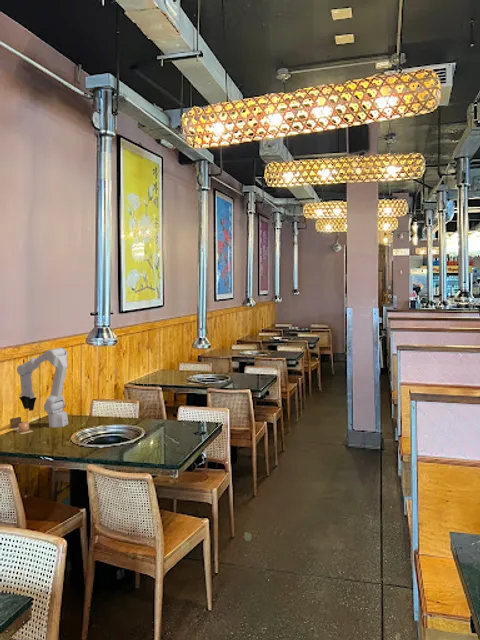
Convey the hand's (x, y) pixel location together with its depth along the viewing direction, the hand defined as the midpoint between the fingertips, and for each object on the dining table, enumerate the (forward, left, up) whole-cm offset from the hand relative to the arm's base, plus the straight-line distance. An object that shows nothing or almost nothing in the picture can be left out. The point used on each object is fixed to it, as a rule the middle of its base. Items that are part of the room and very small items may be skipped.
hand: (28, 409), depth 275 cm
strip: (-1, +11, -9) cm, 15 cm away
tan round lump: (-5, +14, -8) cm, 17 cm away
